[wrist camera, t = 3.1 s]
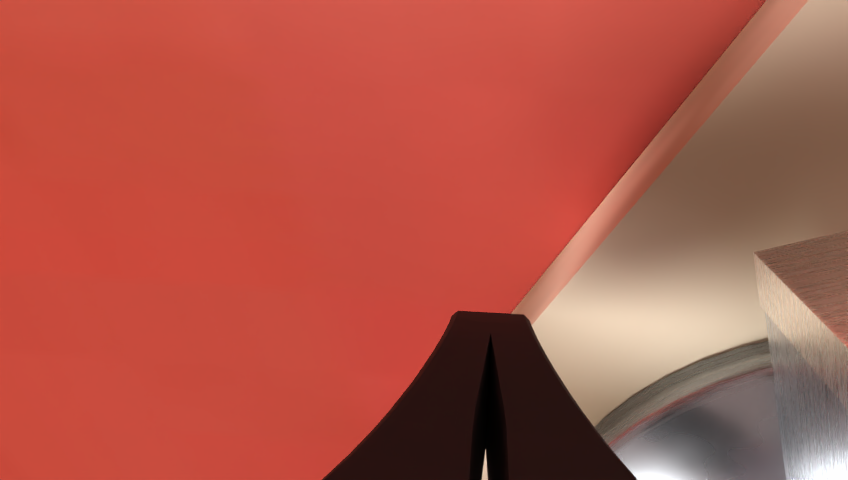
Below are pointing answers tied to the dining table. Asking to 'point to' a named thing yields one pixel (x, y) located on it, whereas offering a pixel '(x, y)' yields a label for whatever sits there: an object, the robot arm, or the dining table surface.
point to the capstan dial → (756, 387)
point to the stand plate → (704, 213)
